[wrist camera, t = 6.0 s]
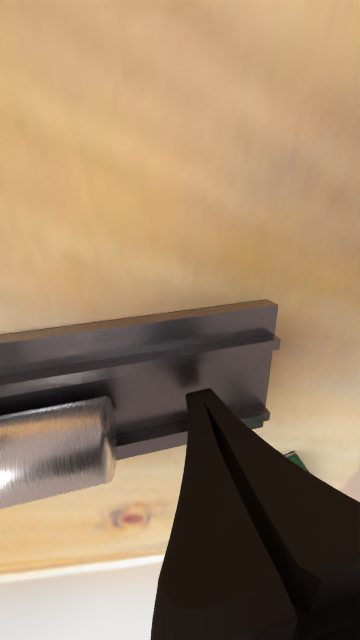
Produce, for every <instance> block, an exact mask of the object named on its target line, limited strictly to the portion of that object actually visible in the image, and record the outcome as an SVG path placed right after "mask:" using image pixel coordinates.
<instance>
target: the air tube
mask: <svg viewBox="0 0 360 640" xmlns="http://www.w3.org/2000/svg"><path fill="white" fill-rule="evenodd" d="M116 457H117V431H116V421H115V414H114V409H113V405H112V402H111V400H110V398H109V397H108V396H104V397H98V398H93V399H87V400H82V401H76V402H71V403H65V404H60V405H55V406H49V407H44V408H38V409H33V410H27V411H22V412H16V413H11V414H6V415H0V509H3V508H7V507H11V506H15V505H19V504H23V503H27V502H32V501H36V500H40V499H44V498H48V497H52V496H56V495H60V494H64V493H69V492H73V491H77V490H81V489H85V488H89V487H93V486H97V485H101V484H106V483H109V482H111V481H112V479H113V476H114V472H115V467H116Z"/></svg>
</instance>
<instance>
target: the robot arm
mask: <svg viewBox="0 0 360 640" xmlns="http://www.w3.org/2000/svg"><path fill="white" fill-rule="evenodd" d="M185 398H186V405H187V412H188V437H187V449H186V458H185V466H184V473H183V479H182V484H181V490H180V495H179V500H178V505H177V509H176V514H175V518H174V522H173V527H172V531H171V535H170V539H169V543H168V546H167V550H166V554H165V557H164V561H163V565H162V568H161V572H160V575H159V579H158V588H157V594H156V600H155V606H154V614H153V621H152V630H151V640H360V502H358V501H356V500H354V499H353V498H351V497H349V496H347V495H346V494H344V493H342V492H340V491H338V490H337V489H335V488H333V487H332V486H330V485H328V484H327V483H325V482H323V481H322V480H320V479H319V478H317V477H315V476H314V475H312V474H311V473H309V472H308V471H306V470H305V469H303V468H302V467H300V466H299V465H297V464H296V463H294V462H293V461H291V460H290V459H288V458H287V457H285V456H284V455H283V454H281V453H280V452H279V451H277V450H276V449H275V448H273V447H272V446H271V445H269V444H268V443H267V442H266V441H264V440H263V439H262V438H261V437H259V436H258V435H257V434H256V433H255V432H254V431H252V430H251V429H250V428H249V427H248V426H247V425H246V424H245V423H244V422H242V421H241V420H240V419H239V418H238V417H237V416H236V415H235V414H234V413H233V412H232V411H231V410H230V409H229V408H228V407H227V406H226V405H225V404H224V402H223V401H222V400H221V399H220V398H219V397H218V396H217V395H216V393H215V392H214V391H213V390H212V389H211V388H207V389H203V390H199V391H194V392H190V393H187V394H186V395H185Z"/></svg>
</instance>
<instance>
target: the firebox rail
mask: <svg viewBox="0 0 360 640" xmlns="http://www.w3.org/2000/svg"><path fill="white" fill-rule="evenodd" d="M277 310H278V305H277V304H275V303H273V302H271V301H269V300H261V301H253V302H246V303H238V304H231V305H223V306H215V307H208V308H200V309H193V310H185V311H178V312H170V313H163V314H155V315H148V316H140V317H132V318H125V319H117V320H110V321H102V322H95V323H87V324H80V325H72V326H64V327H57V328H49V329H42V330H34V331H27V332H19V333H12V334H4V335H0V415H6V414H11V413H16V412H22V411H27V410H33V409H38V408H44V407H49V406H55V405H60V404H65V403H71V402H76V401H82V400H87V399H93V398H98V397H104V396H108V397H109V398H110V400H111V402H112V405H113V409H114V414H115V421H116V431H117V457H116V460H120V459H125V458H129V457H133V456H138V455H142V454H146V453H151V452H155V451H159V450H164V449H168V448H173V447H177V446H181V445H186V444H187V437H188V412H187V405H186V398H185V395H186V394H187V393H190V392H194V391H199V390H203V389H207V388H211V389H212V390H213V391H214V392H215V393H216V395H217V396H218V397H219V398H220V399H221V400H222V401H223V402H224V404H225V405H226V406H227V407H228V408H229V409H230V410H231V411H232V412H233V413H234V414H235V415H236V416H237V417H238V418H239V419H240V420H241V421H242V422H244V423H245V424H246V425H247V426H248V427H249V428H250V429H255V428H260V427H263V421H267V420H269V417H270V412H269V411H268V410H267V408H266V407H265V405H266V397H267V389H268V381H269V373H270V365H271V357H272V350H278V349H279V346H280V339H279V338H278V337H276V336H275V335H274V334H275V326H276V318H277Z"/></svg>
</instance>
